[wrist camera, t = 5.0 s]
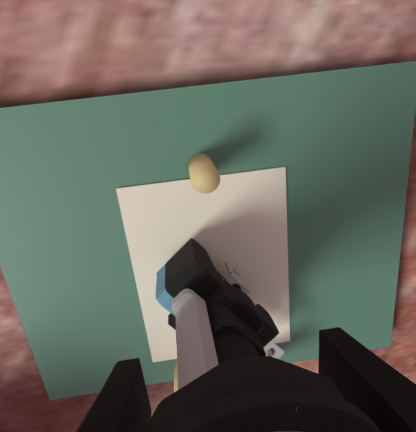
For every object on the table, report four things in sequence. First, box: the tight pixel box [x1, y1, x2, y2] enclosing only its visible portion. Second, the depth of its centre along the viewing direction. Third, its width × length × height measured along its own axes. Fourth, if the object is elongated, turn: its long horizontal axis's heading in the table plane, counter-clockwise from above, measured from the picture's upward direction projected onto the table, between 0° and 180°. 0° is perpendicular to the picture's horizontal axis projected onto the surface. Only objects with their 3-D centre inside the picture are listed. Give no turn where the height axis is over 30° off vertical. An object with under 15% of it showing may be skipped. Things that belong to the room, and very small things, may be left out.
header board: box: [0, 61, 416, 401], centre depth 14 cm, size 18×14×4 cm
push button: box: [144, 238, 381, 432], centre depth 10 cm, size 7×5×10 cm
